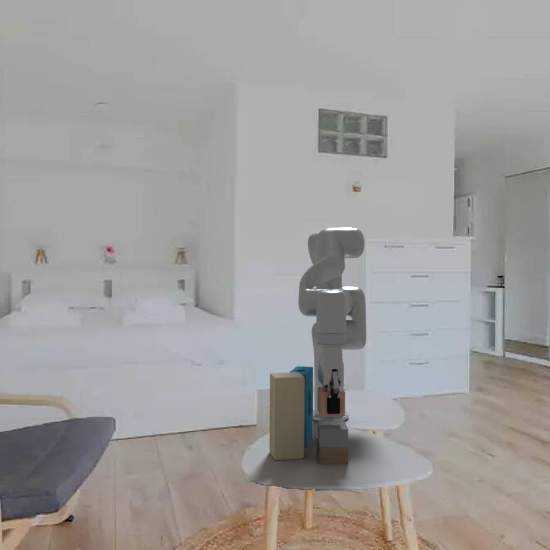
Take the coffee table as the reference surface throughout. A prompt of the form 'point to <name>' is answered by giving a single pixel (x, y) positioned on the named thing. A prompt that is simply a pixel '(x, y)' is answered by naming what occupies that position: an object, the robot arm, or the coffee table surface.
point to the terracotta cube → (323, 401)
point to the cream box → (287, 415)
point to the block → (307, 401)
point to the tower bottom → (332, 455)
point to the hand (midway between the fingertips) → (331, 409)
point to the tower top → (332, 434)
